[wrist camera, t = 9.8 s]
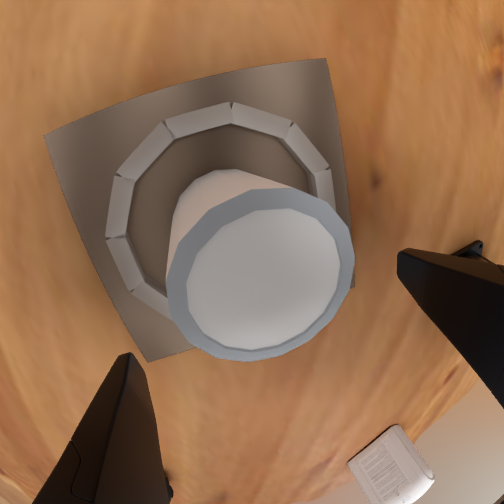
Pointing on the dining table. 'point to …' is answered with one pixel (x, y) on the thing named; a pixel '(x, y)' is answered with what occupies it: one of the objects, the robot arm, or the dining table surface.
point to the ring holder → (190, 172)
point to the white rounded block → (392, 469)
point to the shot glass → (254, 265)
